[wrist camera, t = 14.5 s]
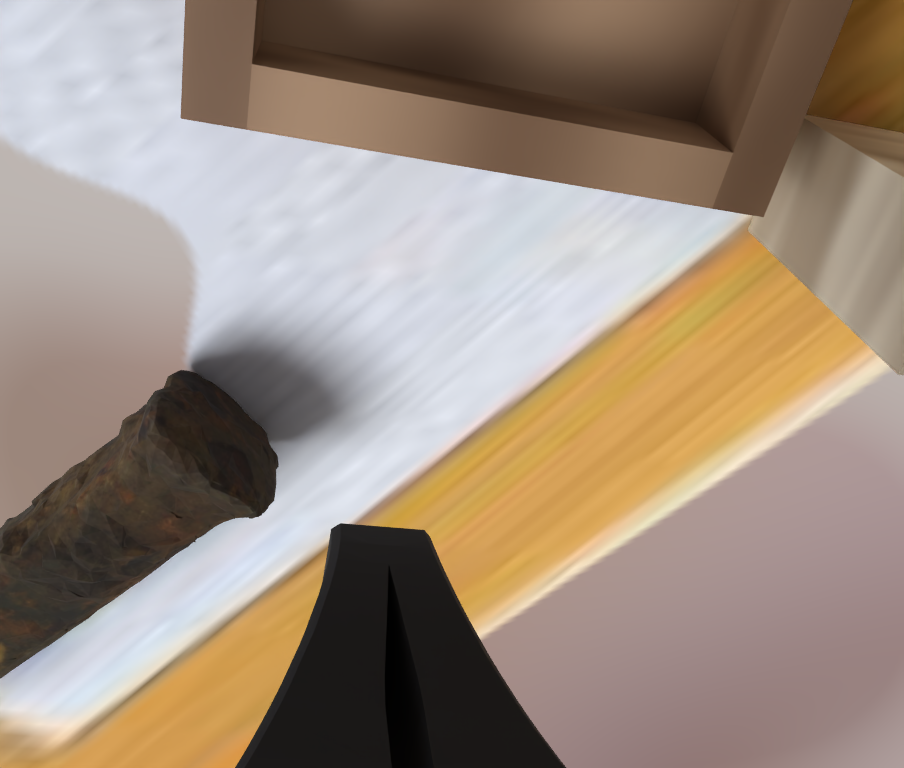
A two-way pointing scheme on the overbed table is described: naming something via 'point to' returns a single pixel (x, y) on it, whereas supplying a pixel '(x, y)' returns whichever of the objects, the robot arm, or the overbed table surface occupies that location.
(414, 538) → the robot arm
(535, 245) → the overbed table surface
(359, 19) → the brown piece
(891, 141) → the block
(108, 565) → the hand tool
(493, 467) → the overbed table surface
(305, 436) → the overbed table surface
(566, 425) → the overbed table surface
